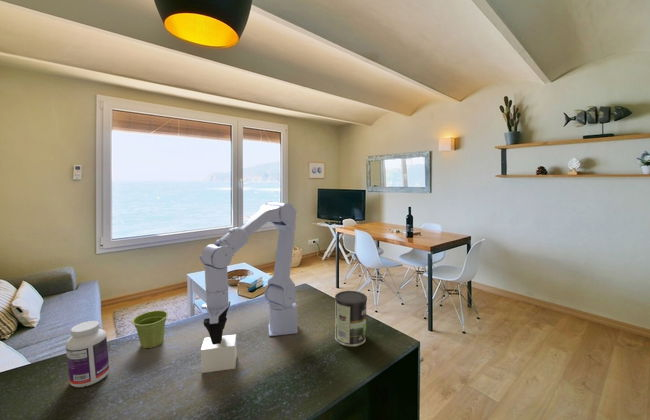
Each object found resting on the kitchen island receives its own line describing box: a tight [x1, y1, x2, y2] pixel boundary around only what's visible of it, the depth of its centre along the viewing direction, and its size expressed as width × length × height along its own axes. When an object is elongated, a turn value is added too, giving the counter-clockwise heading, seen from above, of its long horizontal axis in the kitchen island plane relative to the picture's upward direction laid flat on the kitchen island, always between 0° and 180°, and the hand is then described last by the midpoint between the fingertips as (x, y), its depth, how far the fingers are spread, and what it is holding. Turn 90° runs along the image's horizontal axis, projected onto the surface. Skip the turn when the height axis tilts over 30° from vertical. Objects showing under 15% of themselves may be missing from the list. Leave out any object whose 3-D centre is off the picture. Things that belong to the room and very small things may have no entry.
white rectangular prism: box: [200, 333, 238, 374], centre depth 81 cm, size 9×6×7 cm
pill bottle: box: [65, 320, 110, 388], centre depth 74 cm, size 8×8×14 cm
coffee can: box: [334, 290, 368, 347], centre depth 94 cm, size 10×10×14 cm
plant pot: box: [131, 310, 169, 349], centre depth 90 cm, size 9×9×9 cm
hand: (218, 335), depth 80 cm, fingers open, 7 cm apart
